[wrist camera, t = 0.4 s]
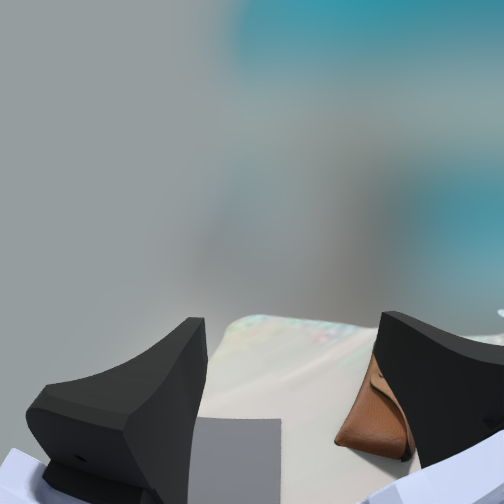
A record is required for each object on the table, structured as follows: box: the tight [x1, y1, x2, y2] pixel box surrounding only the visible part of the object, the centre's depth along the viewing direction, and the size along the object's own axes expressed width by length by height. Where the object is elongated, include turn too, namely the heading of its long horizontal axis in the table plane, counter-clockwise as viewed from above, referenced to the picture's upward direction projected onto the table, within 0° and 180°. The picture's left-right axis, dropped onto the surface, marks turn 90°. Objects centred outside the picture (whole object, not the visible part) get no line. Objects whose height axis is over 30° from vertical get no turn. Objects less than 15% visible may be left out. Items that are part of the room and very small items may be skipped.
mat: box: [188, 417, 281, 504], centre depth 22 cm, size 11×9×1 cm
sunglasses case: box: [334, 341, 416, 462], centre depth 26 cm, size 18×7×7 cm, turn 149°
